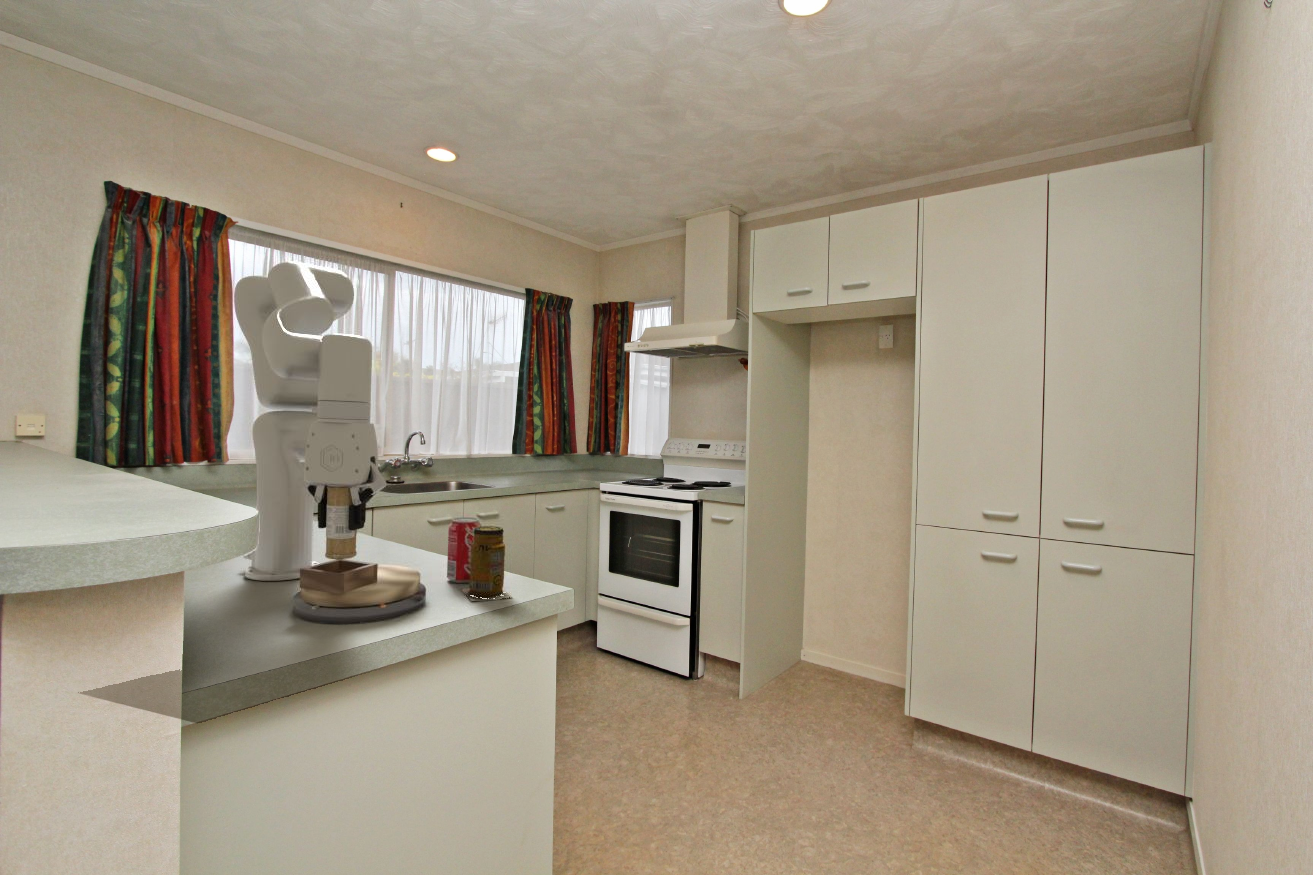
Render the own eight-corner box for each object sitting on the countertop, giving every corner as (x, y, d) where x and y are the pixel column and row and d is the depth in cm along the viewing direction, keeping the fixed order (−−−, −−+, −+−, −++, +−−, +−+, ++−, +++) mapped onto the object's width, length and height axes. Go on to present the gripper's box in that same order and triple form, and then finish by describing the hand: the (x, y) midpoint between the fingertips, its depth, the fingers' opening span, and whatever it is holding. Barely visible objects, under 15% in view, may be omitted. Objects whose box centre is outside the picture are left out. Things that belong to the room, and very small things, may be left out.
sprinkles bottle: (358, 553, 101) (360, 471, 100) (353, 559, 96) (356, 474, 96) (327, 554, 99) (329, 471, 99) (321, 560, 95) (323, 474, 95)
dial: (359, 572, 114) (360, 544, 114) (441, 583, 109) (442, 554, 109) (273, 597, 97) (274, 565, 97) (366, 613, 92) (367, 578, 92)
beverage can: (484, 577, 123) (487, 517, 123) (472, 585, 117) (474, 522, 117) (455, 575, 124) (457, 515, 123) (441, 583, 118) (443, 520, 117)
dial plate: (262, 613, 96) (262, 598, 96) (358, 582, 115) (359, 570, 115) (366, 631, 90) (366, 616, 90) (449, 595, 110) (450, 583, 110)
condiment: (500, 586, 117) (503, 524, 117) (512, 598, 110) (515, 532, 110) (461, 589, 114) (463, 525, 114) (470, 602, 107) (473, 534, 106)
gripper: (278, 410, 95) (275, 528, 95) (380, 415, 92) (377, 535, 93) (311, 412, 102) (308, 521, 102) (407, 415, 100) (403, 527, 100)
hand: (341, 526), depth 98 cm, fingers closed on sprinkles bottle, 4 cm apart
